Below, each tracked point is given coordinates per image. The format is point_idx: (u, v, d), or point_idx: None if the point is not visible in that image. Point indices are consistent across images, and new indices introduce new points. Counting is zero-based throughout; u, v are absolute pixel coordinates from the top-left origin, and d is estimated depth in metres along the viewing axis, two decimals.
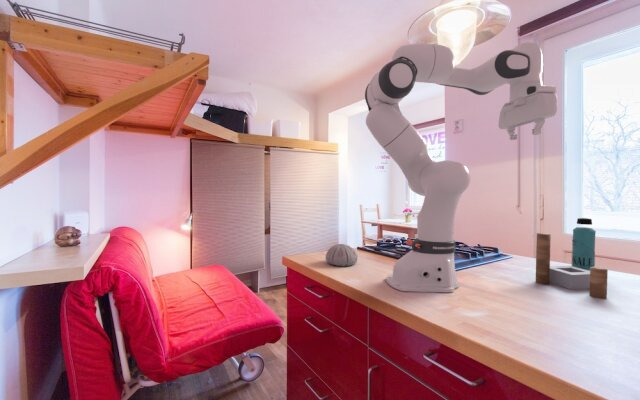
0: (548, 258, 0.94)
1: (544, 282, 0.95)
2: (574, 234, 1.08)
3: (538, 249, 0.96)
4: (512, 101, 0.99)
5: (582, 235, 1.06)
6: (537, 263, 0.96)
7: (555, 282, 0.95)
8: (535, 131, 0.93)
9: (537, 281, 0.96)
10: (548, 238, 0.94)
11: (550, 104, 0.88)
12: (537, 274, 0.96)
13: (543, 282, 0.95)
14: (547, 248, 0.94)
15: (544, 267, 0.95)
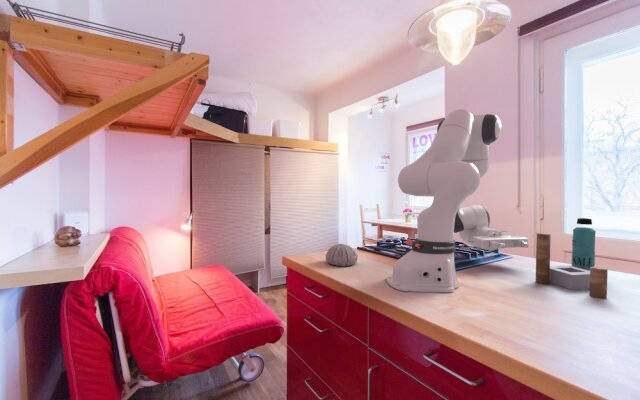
0: (548, 258, 0.94)
1: (544, 282, 0.95)
2: (574, 234, 1.08)
3: (538, 249, 0.96)
4: (488, 232, 1.20)
5: (582, 235, 1.06)
6: (537, 263, 0.96)
7: (555, 282, 0.95)
8: (526, 242, 1.09)
9: (537, 281, 0.96)
10: (548, 238, 0.94)
11: None
12: (537, 274, 0.96)
13: (543, 282, 0.95)
14: (547, 248, 0.94)
15: (544, 267, 0.95)
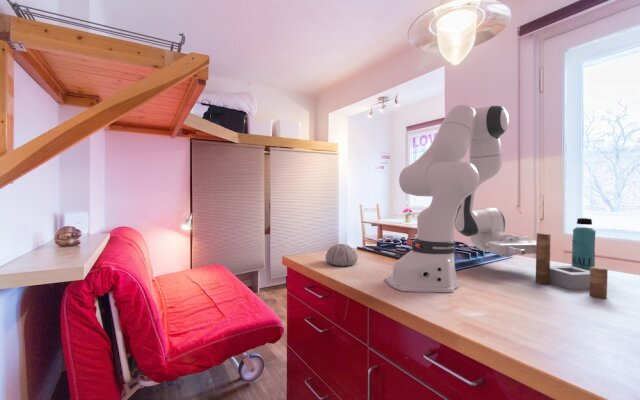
0: (548, 258, 0.94)
1: (544, 282, 0.95)
2: (574, 234, 1.08)
3: (538, 249, 0.96)
4: (504, 236, 1.11)
5: (582, 235, 1.06)
6: (537, 263, 0.96)
7: (555, 282, 0.95)
8: None
9: (537, 281, 0.96)
10: (548, 238, 0.94)
11: None
12: (537, 274, 0.96)
13: (543, 282, 0.95)
14: (547, 248, 0.94)
15: (544, 267, 0.95)
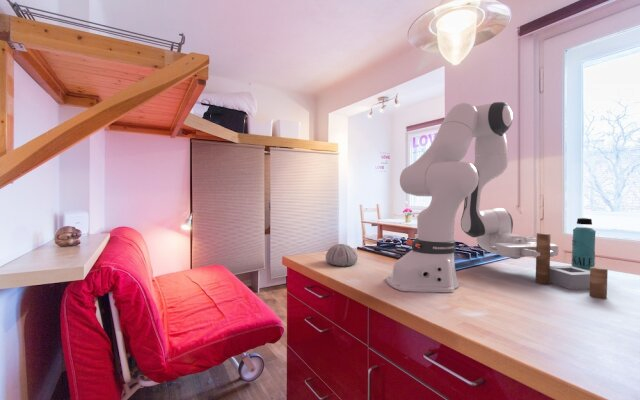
0: (548, 258, 0.94)
1: (544, 282, 0.95)
2: (574, 234, 1.08)
3: (538, 249, 0.96)
4: (512, 238, 1.07)
5: (582, 235, 1.06)
6: (537, 263, 0.96)
7: (555, 282, 0.95)
8: (551, 251, 0.96)
9: (537, 281, 0.96)
10: (548, 238, 0.94)
11: None
12: (537, 274, 0.96)
13: (543, 282, 0.95)
14: (547, 248, 0.94)
15: (544, 267, 0.95)
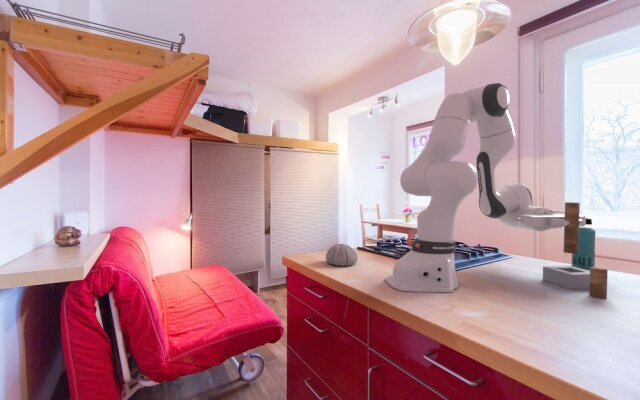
0: (577, 226, 0.93)
1: (573, 251, 0.93)
2: None
3: (567, 218, 0.94)
4: (537, 210, 1.06)
5: (582, 235, 1.06)
6: (565, 232, 0.95)
7: (555, 282, 0.95)
8: None
9: (565, 250, 0.95)
10: (577, 206, 0.93)
11: None
12: (565, 243, 0.95)
13: (572, 251, 0.94)
14: (576, 216, 0.93)
15: (573, 236, 0.93)
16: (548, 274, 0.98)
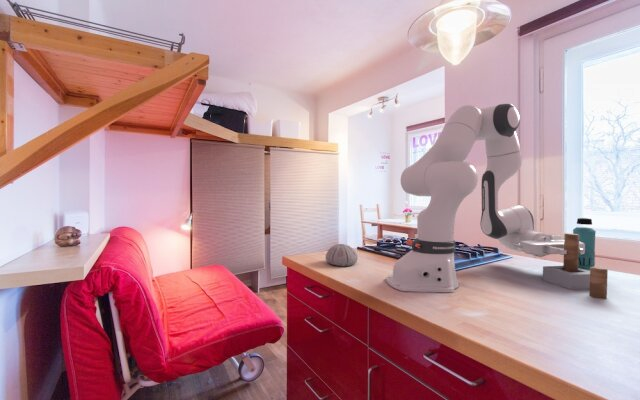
0: (577, 259, 0.93)
1: None
2: None
3: None
4: (537, 236, 1.06)
5: (582, 235, 1.06)
6: (565, 264, 0.95)
7: (555, 282, 0.95)
8: (581, 248, 0.95)
9: None
10: (577, 238, 0.93)
11: None
12: None
13: None
14: (576, 249, 0.93)
15: (572, 268, 0.94)
16: (548, 274, 0.98)
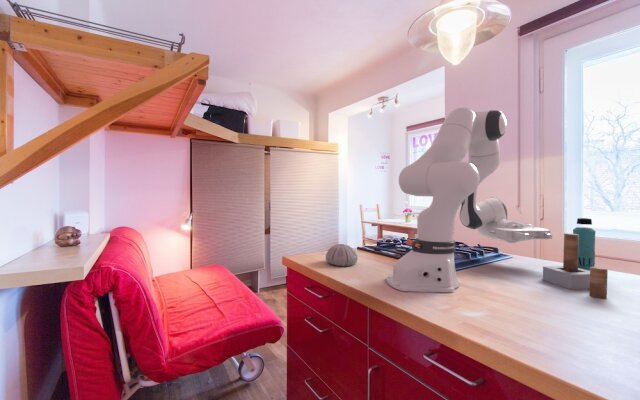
0: (576, 259, 0.93)
1: None
2: None
3: (566, 250, 0.95)
4: (509, 224, 1.18)
5: (582, 235, 1.06)
6: (565, 264, 0.95)
7: (555, 282, 0.95)
8: (549, 233, 1.08)
9: None
10: (576, 239, 0.93)
11: None
12: None
13: None
14: (575, 249, 0.93)
15: (572, 268, 0.94)
16: (548, 274, 0.98)
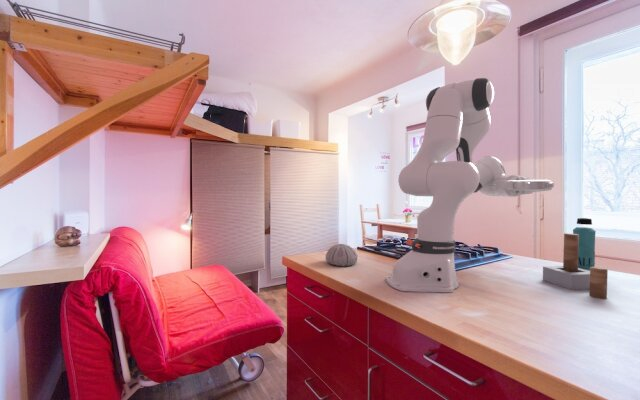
0: (576, 259, 0.93)
1: None
2: None
3: (566, 250, 0.95)
4: (510, 177, 1.18)
5: (582, 235, 1.06)
6: (565, 264, 0.95)
7: (555, 282, 0.95)
8: None
9: None
10: (576, 239, 0.93)
11: None
12: None
13: None
14: (575, 249, 0.93)
15: (572, 268, 0.94)
16: (548, 274, 0.98)
